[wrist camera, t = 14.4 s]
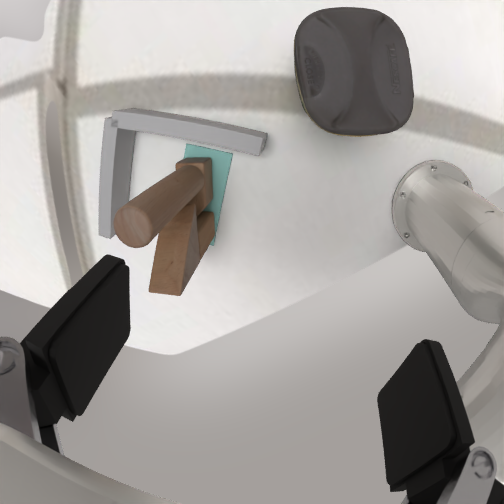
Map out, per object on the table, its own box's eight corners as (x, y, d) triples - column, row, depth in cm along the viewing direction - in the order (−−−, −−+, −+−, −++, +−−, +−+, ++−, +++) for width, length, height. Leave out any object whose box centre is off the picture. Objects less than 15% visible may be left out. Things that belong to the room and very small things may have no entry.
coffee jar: (290, 47, 29) (282, -3, 13) (357, 44, 28) (410, -2, 12) (301, 125, 34) (305, 147, 17) (367, 121, 32) (429, 143, 16)
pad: (232, 153, 36) (232, 154, 36) (213, 245, 43) (213, 245, 42) (186, 143, 36) (186, 143, 36) (173, 234, 43) (172, 234, 43)
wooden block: (190, 234, 42) (132, 316, 26) (184, 157, 37) (106, 204, 21) (216, 235, 42) (168, 322, 26) (212, 156, 37) (148, 204, 21)
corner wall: (267, 133, 35) (263, 138, 30) (237, 255, 43) (230, 274, 38) (126, 107, 35) (105, 110, 30) (116, 221, 43) (98, 235, 39)
